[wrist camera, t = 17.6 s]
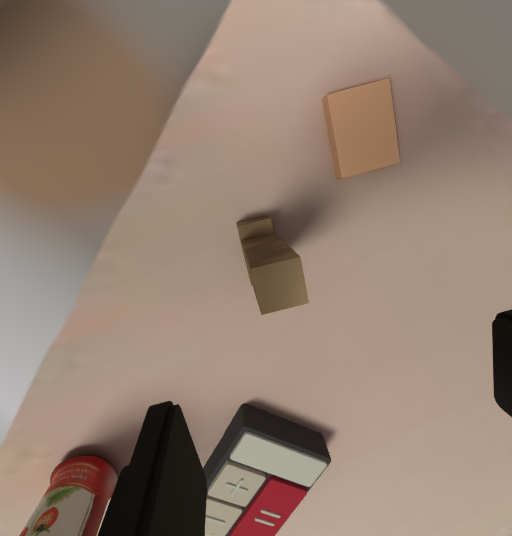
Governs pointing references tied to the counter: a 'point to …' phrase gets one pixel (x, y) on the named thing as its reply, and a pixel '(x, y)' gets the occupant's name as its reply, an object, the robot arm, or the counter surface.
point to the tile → (361, 128)
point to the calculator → (260, 473)
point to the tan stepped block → (271, 266)
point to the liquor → (74, 499)
